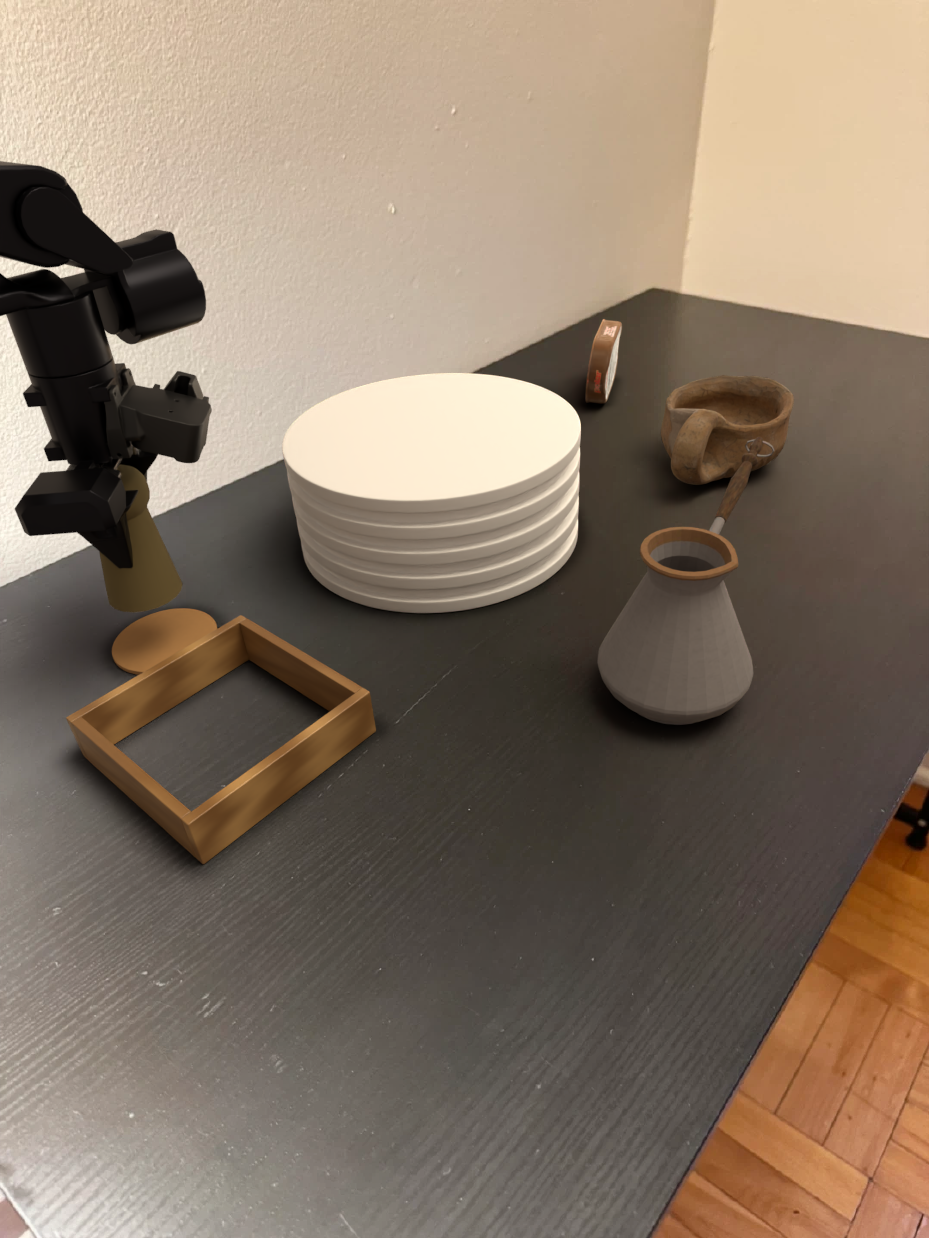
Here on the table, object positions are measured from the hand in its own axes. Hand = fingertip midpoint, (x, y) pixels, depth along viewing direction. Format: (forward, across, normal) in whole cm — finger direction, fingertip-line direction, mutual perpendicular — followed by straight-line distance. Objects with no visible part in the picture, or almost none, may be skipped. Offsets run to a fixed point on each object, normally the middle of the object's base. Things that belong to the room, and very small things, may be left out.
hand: (134, 552), depth 68 cm
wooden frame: (+9, -13, -8) cm, 18 cm away
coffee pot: (+9, -8, -45) cm, 46 cm away
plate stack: (+9, +15, -25) cm, 31 cm away
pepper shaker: (+4, 0, 0) cm, 4 cm away
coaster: (+9, 0, 0) cm, 9 cm away
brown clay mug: (+9, +23, -56) cm, 61 cm away
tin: (+9, +48, -48) cm, 69 cm away
